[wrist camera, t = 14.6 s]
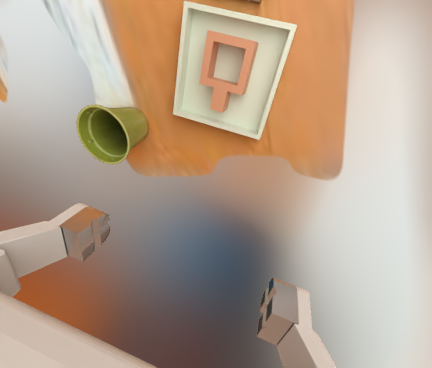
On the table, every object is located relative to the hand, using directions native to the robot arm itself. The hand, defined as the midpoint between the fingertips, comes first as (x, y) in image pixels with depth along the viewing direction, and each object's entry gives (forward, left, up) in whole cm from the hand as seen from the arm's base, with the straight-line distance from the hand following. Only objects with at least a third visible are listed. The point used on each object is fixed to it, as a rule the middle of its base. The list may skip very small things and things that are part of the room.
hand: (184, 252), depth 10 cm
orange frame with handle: (-6, +5, -29) cm, 30 cm away
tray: (-6, +5, -29) cm, 30 cm away
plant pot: (-22, -7, -29) cm, 37 cm away
